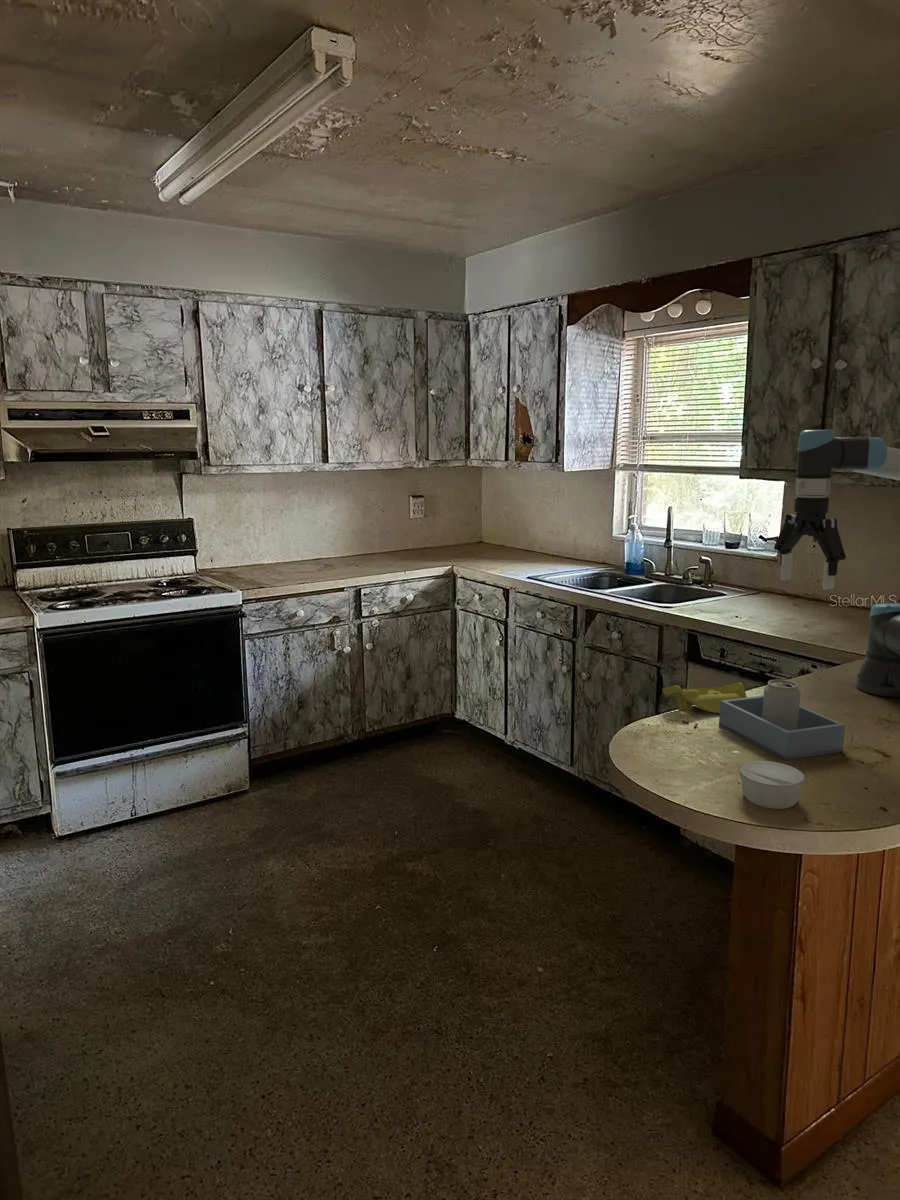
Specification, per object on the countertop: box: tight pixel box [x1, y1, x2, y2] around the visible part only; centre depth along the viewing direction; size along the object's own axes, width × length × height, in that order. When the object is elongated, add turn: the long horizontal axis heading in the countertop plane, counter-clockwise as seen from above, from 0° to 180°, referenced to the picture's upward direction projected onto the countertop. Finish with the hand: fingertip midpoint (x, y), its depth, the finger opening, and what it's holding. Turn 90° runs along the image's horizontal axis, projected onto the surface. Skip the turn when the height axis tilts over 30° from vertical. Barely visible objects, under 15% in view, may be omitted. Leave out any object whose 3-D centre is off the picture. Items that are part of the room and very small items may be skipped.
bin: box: [718, 695, 846, 761], centre depth 186 cm, size 15×22×6 cm
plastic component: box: [661, 682, 748, 714], centre depth 206 cm, size 20×7×10 cm
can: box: [762, 679, 802, 731], centre depth 185 cm, size 8×8×12 cm
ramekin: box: [739, 760, 805, 810], centre depth 155 cm, size 11×11×5 cm
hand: (806, 584), depth 203 cm, fingers open, 13 cm apart
